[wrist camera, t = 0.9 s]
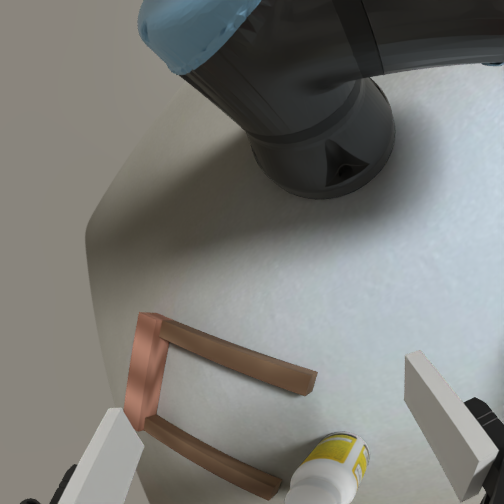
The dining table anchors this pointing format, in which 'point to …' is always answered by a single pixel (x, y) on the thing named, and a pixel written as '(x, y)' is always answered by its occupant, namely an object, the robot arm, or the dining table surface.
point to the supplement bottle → (330, 471)
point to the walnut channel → (220, 351)
